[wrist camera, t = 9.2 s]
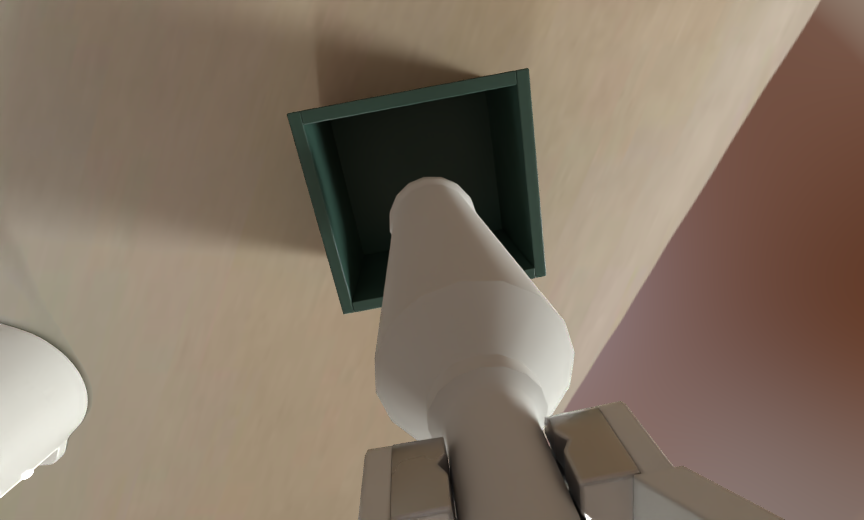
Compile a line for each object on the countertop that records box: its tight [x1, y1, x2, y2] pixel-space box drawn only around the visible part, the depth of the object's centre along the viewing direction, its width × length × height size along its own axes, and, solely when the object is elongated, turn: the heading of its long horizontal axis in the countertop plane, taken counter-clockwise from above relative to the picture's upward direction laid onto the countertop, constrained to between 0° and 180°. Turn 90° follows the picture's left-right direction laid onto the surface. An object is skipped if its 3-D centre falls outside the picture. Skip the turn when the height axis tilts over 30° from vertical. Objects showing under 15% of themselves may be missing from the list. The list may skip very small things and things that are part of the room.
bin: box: [287, 68, 546, 314], centre depth 32 cm, size 15×14×11 cm
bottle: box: [375, 177, 581, 520], centre depth 14 cm, size 5×5×25 cm
